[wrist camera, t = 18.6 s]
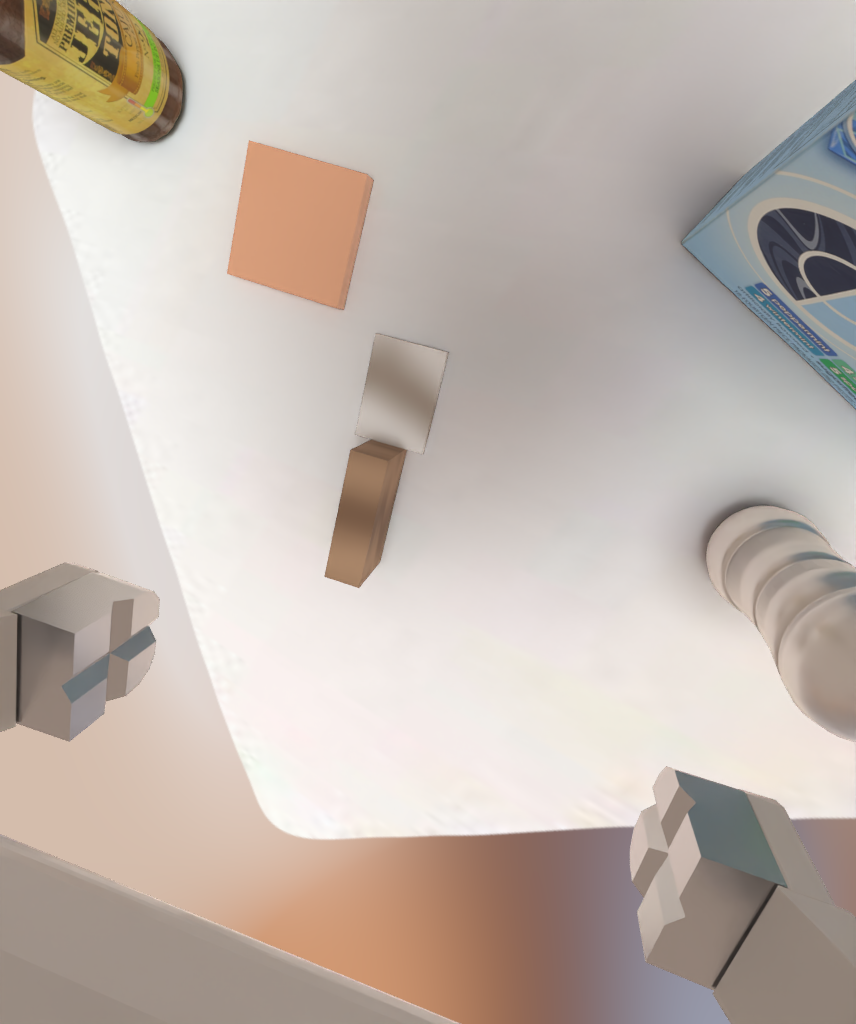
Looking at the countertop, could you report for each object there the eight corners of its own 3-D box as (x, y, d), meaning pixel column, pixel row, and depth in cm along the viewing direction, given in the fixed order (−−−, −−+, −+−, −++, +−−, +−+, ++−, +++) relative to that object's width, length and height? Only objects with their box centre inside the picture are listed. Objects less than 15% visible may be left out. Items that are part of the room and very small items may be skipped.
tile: (227, 273, 38) (248, 140, 35) (239, 276, 39) (261, 149, 37) (336, 308, 37) (367, 174, 34) (345, 310, 38) (375, 182, 36)
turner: (395, 566, 43) (376, 593, 38) (333, 546, 43) (307, 571, 38) (448, 352, 38) (434, 352, 33) (378, 333, 38) (354, 331, 33)
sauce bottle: (202, 131, 37) (-158, -97, 18) (122, 157, 38) (-287, -27, 20) (173, 17, 35) (-250, -360, 17) (91, 49, 37) (-382, -264, 18)
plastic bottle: (828, 518, 36) (1143, 708, 17) (772, 609, 38) (996, 866, 19) (727, 482, 36) (923, 625, 17) (679, 573, 38) (805, 787, 20)
